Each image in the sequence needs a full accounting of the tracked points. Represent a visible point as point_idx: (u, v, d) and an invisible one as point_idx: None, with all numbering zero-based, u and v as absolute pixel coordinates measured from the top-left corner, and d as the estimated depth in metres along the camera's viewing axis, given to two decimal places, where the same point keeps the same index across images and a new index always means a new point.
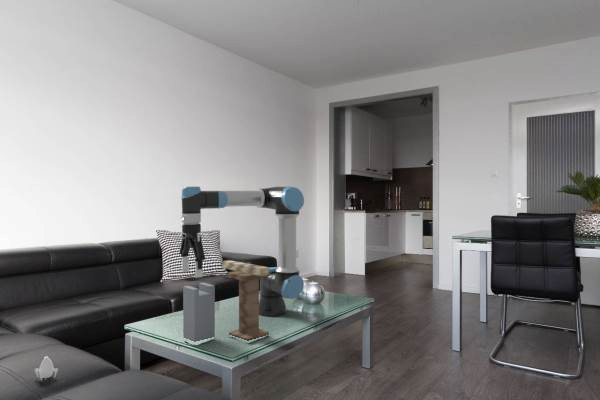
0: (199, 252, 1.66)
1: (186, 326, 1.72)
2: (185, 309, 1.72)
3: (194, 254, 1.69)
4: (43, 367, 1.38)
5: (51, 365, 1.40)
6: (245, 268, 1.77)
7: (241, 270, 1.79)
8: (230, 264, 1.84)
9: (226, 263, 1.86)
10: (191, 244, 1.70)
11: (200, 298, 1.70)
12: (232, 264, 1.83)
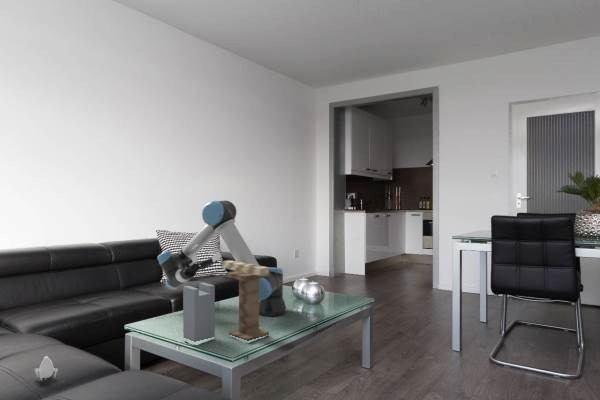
0: (181, 268, 1.97)
1: (186, 326, 1.72)
2: (185, 309, 1.72)
3: (190, 267, 1.99)
4: (43, 367, 1.38)
5: (51, 365, 1.40)
6: (245, 268, 1.77)
7: (241, 270, 1.79)
8: (230, 264, 1.84)
9: (226, 263, 1.86)
10: (189, 270, 2.02)
11: (200, 298, 1.70)
12: (232, 264, 1.83)
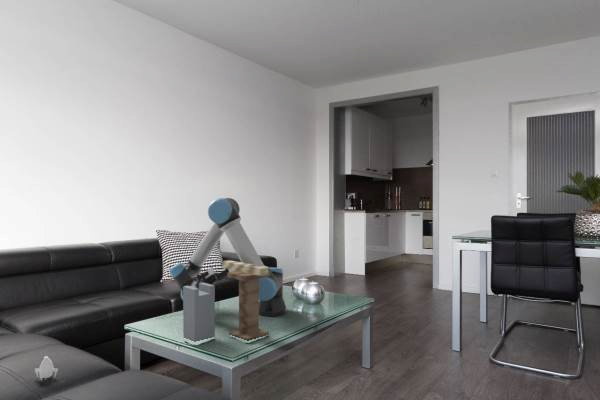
0: (197, 280, 1.88)
1: (186, 326, 1.72)
2: (185, 309, 1.72)
3: (206, 279, 1.90)
4: (43, 367, 1.38)
5: (51, 365, 1.40)
6: (245, 268, 1.77)
7: (241, 270, 1.79)
8: (230, 264, 1.84)
9: (226, 263, 1.86)
10: None
11: (200, 298, 1.70)
12: (232, 264, 1.83)
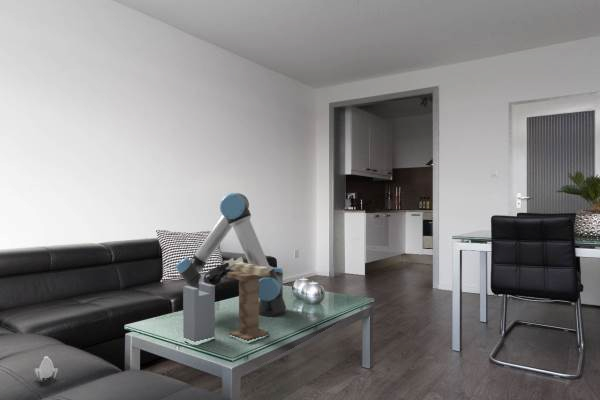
0: (215, 272, 1.85)
1: (186, 326, 1.72)
2: (185, 309, 1.72)
3: (222, 272, 1.88)
4: (43, 366, 1.38)
5: (51, 365, 1.40)
6: (245, 268, 1.77)
7: (241, 270, 1.79)
8: None
9: None
10: (217, 276, 1.90)
11: (200, 298, 1.70)
12: None
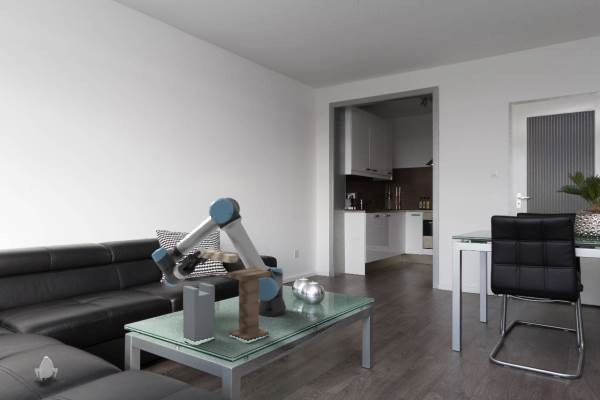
0: (187, 260, 1.88)
1: (186, 326, 1.72)
2: (185, 309, 1.72)
3: (195, 260, 1.90)
4: (43, 366, 1.38)
5: (51, 365, 1.40)
6: (216, 255, 1.80)
7: (212, 258, 1.82)
8: None
9: None
10: (190, 265, 1.92)
11: (200, 298, 1.70)
12: None
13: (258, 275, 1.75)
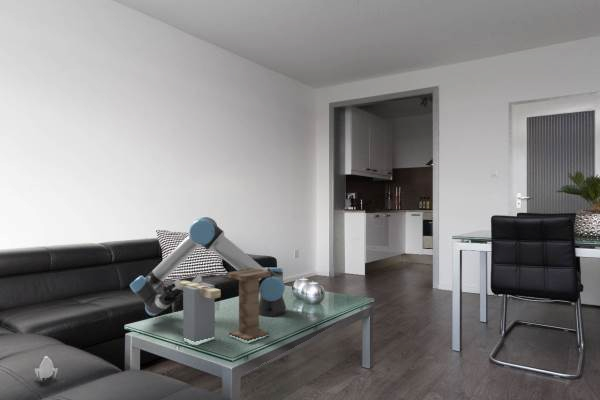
0: (163, 293, 1.79)
1: (186, 326, 1.72)
2: (185, 309, 1.72)
3: None
4: (43, 366, 1.38)
5: (51, 365, 1.40)
6: None
7: None
8: (184, 285, 1.78)
9: None
10: (169, 296, 1.84)
11: (200, 298, 1.70)
12: (185, 285, 1.77)
13: (258, 275, 1.75)
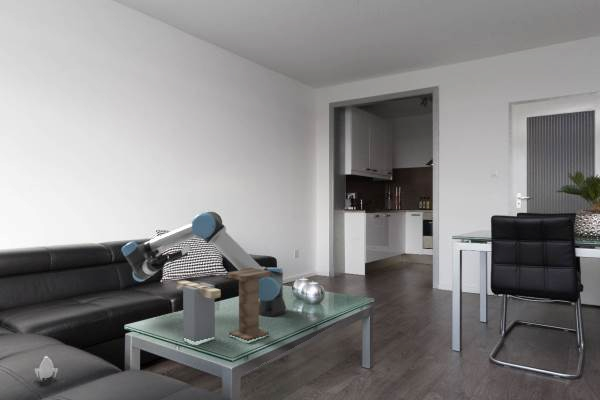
0: (147, 258, 1.86)
1: (186, 326, 1.72)
2: (185, 309, 1.72)
3: (156, 258, 1.88)
4: (43, 366, 1.38)
5: (51, 365, 1.40)
6: None
7: None
8: (184, 285, 1.78)
9: (180, 284, 1.80)
10: (156, 261, 1.91)
11: (200, 298, 1.70)
12: (185, 285, 1.77)
13: (258, 275, 1.75)
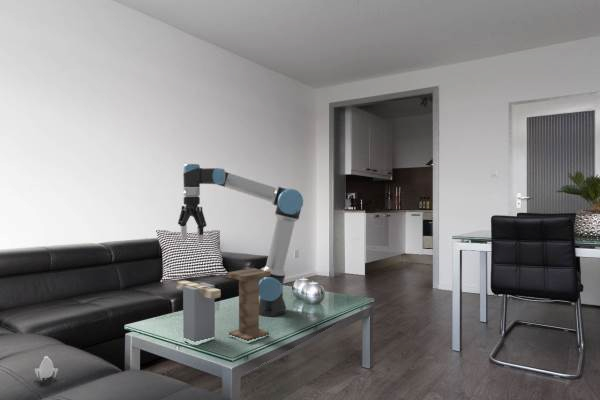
0: (201, 220, 1.94)
1: (186, 326, 1.72)
2: (185, 309, 1.72)
3: (196, 222, 1.96)
4: (43, 366, 1.38)
5: (51, 365, 1.40)
6: None
7: None
8: (184, 285, 1.78)
9: (180, 284, 1.80)
10: (193, 213, 1.97)
11: (200, 298, 1.70)
12: (185, 285, 1.77)
13: (258, 275, 1.75)
